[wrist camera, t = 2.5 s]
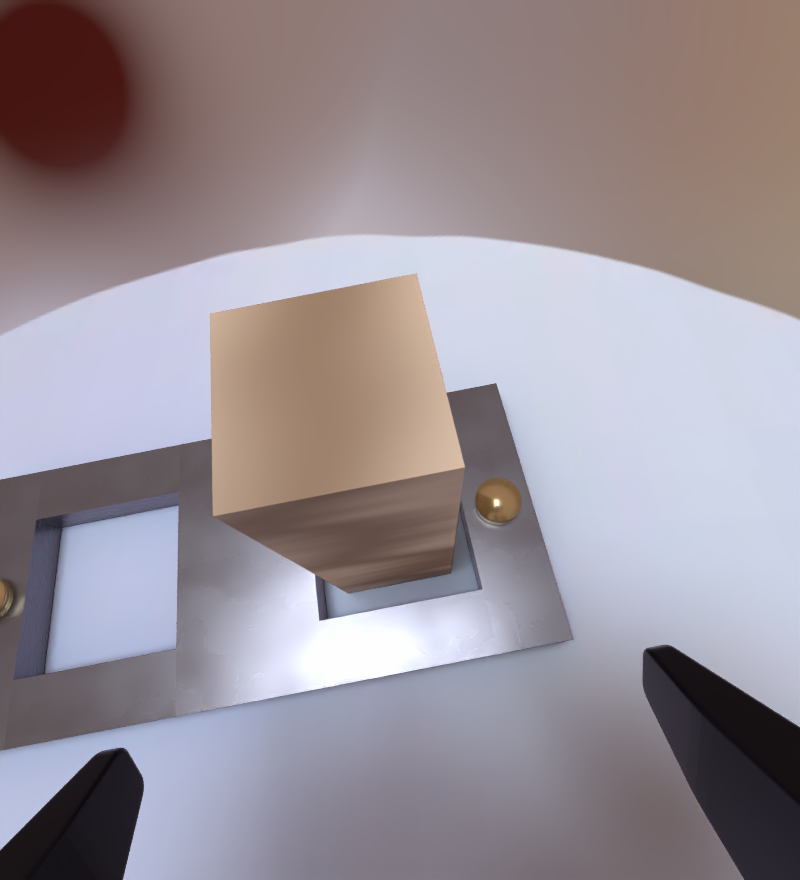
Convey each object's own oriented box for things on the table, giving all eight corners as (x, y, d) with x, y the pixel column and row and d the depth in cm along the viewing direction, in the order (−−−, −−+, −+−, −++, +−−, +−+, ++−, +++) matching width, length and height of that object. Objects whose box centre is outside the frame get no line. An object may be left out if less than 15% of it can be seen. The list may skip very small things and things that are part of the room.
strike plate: (492, 399, 23) (497, 376, 21) (563, 639, 19) (577, 639, 17) (10, 492, 23) (-29, 479, 21) (-35, 755, 19) (-89, 768, 17)
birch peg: (429, 476, 22) (416, 273, 10) (450, 573, 20) (464, 466, 8) (335, 495, 22) (210, 313, 10) (348, 593, 20) (212, 515, 8)
